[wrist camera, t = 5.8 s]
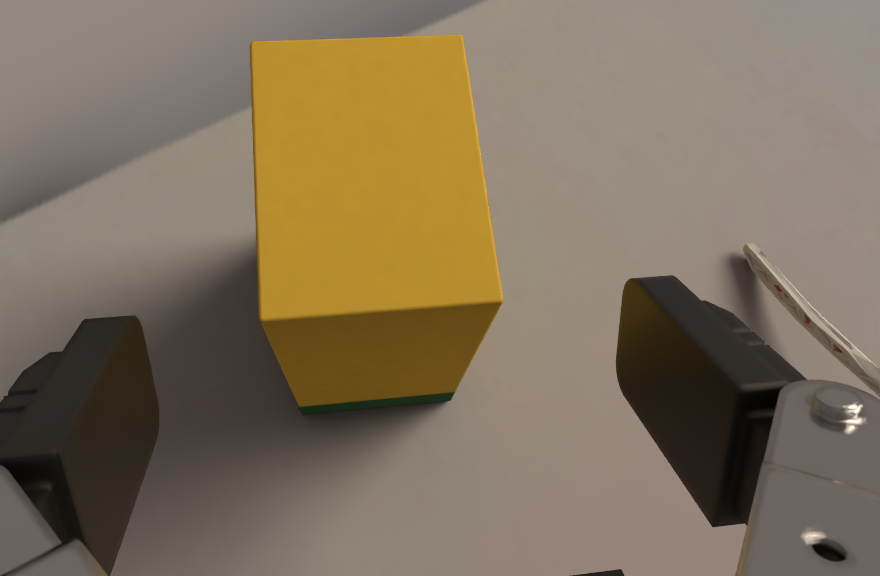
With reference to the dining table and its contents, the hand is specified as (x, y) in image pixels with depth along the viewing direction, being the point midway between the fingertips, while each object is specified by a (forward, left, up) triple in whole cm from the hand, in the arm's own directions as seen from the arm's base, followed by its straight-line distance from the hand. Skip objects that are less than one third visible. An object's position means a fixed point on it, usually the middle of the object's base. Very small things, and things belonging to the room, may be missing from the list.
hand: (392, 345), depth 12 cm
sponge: (-2, +3, -10) cm, 10 cm away
